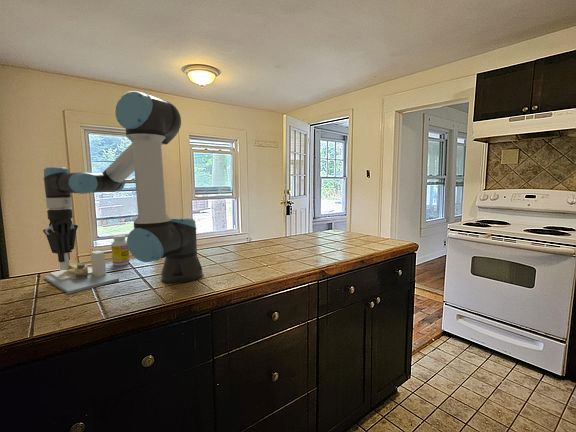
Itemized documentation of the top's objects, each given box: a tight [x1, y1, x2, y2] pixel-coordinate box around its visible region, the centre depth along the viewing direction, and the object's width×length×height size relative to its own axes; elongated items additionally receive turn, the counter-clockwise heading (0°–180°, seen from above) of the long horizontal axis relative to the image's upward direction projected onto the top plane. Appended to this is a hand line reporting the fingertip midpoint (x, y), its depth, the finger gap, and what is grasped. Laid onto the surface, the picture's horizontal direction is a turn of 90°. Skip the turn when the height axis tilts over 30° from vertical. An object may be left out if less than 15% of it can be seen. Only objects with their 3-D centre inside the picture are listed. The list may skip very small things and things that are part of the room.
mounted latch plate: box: [43, 250, 120, 295], centre depth 113 cm, size 26×16×10 cm, turn 53°
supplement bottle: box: [111, 234, 130, 267], centre depth 134 cm, size 7×7×13 cm
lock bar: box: [66, 261, 89, 276], centre depth 115 cm, size 14×4×3 cm, turn 55°
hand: (65, 269), depth 116 cm, fingers closed
